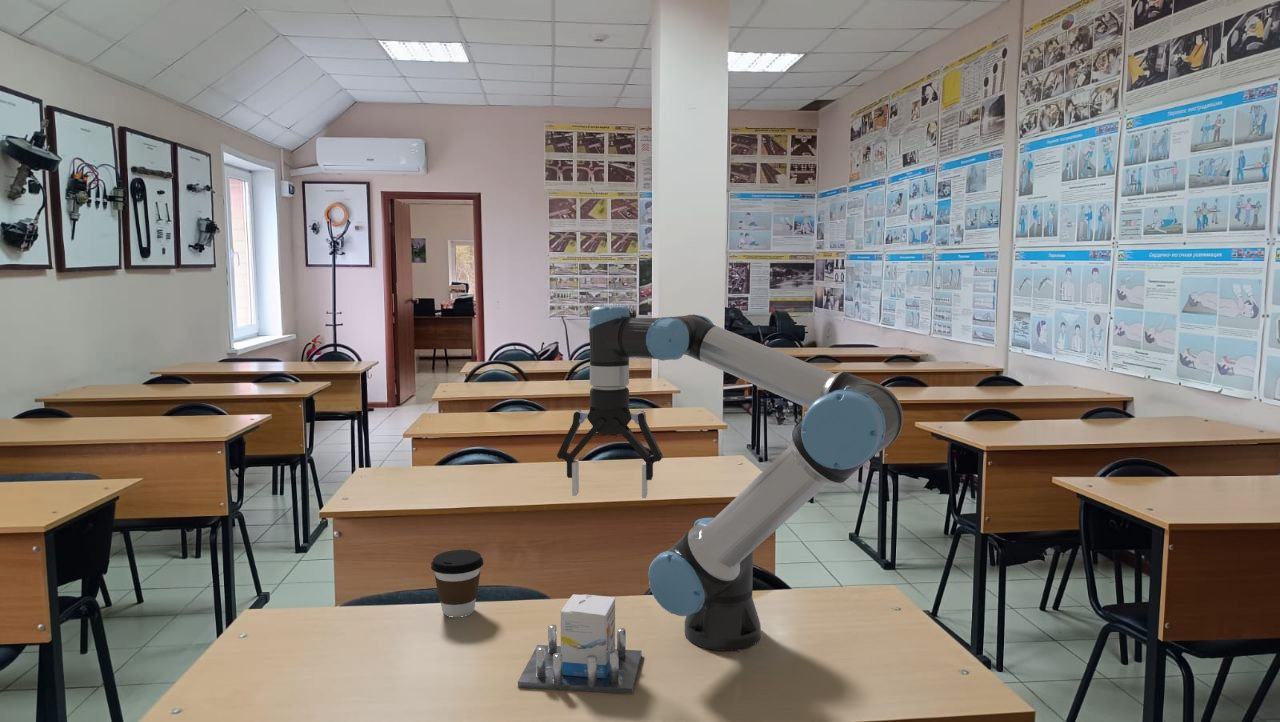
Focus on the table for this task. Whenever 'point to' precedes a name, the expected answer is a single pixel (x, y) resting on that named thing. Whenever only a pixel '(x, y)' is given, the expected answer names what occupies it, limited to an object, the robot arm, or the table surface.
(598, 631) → the ink box
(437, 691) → the table surface
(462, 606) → the coffee cup
